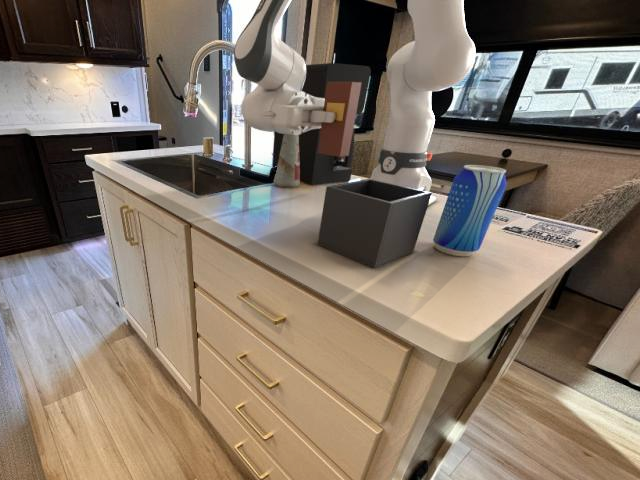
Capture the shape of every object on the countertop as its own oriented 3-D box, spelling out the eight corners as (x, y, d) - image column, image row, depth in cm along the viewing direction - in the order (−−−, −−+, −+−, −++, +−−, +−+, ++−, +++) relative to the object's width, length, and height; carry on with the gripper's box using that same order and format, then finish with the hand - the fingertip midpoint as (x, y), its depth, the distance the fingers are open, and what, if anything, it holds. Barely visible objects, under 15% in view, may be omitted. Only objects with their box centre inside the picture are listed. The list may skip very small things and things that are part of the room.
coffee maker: (359, 183, 122) (384, 65, 103) (318, 188, 113) (337, 60, 95) (309, 169, 142) (322, 68, 124) (271, 172, 134) (278, 65, 115)
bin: (357, 232, 77) (368, 178, 71) (413, 251, 68) (432, 192, 62) (317, 244, 70) (326, 186, 64) (374, 268, 61) (391, 203, 55)
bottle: (269, 183, 118) (276, 88, 103) (293, 182, 120) (303, 89, 105) (278, 189, 111) (286, 88, 96) (303, 188, 113) (315, 89, 98)
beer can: (483, 260, 66) (521, 174, 57) (437, 255, 67) (468, 170, 59) (468, 244, 73) (499, 165, 64) (426, 240, 74) (452, 162, 66)
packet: (326, 151, 75) (337, 82, 68) (348, 155, 71) (362, 82, 64) (317, 152, 73) (326, 81, 67) (339, 156, 69) (351, 81, 63)
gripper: (259, 96, 70) (308, 98, 61) (324, 98, 81) (375, 99, 72) (258, 130, 74) (304, 137, 64) (321, 127, 84) (368, 132, 75)
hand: (342, 117), depth 68 cm, fingers closed on packet, 3 cm apart
